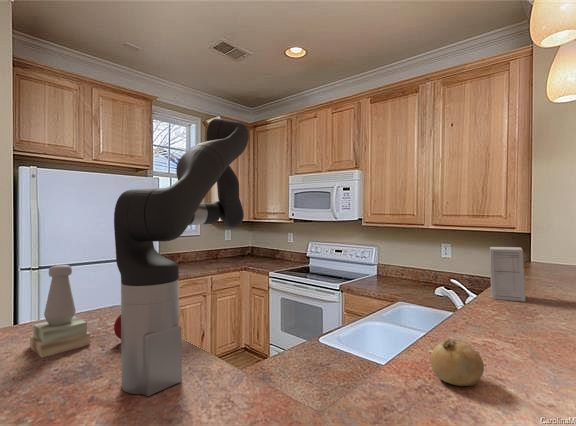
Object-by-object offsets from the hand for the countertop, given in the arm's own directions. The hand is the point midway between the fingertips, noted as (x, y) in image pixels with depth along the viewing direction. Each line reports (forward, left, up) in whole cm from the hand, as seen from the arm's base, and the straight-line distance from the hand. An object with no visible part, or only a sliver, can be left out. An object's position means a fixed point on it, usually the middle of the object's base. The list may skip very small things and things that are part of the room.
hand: (137, 213), depth 89 cm
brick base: (-2, +19, -30) cm, 35 cm away
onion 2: (-75, -18, -30) cm, 83 cm away
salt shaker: (-2, +19, -25) cm, 31 cm away
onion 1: (-12, +8, -30) cm, 33 cm away
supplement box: (-75, -90, -30) cm, 121 cm away
